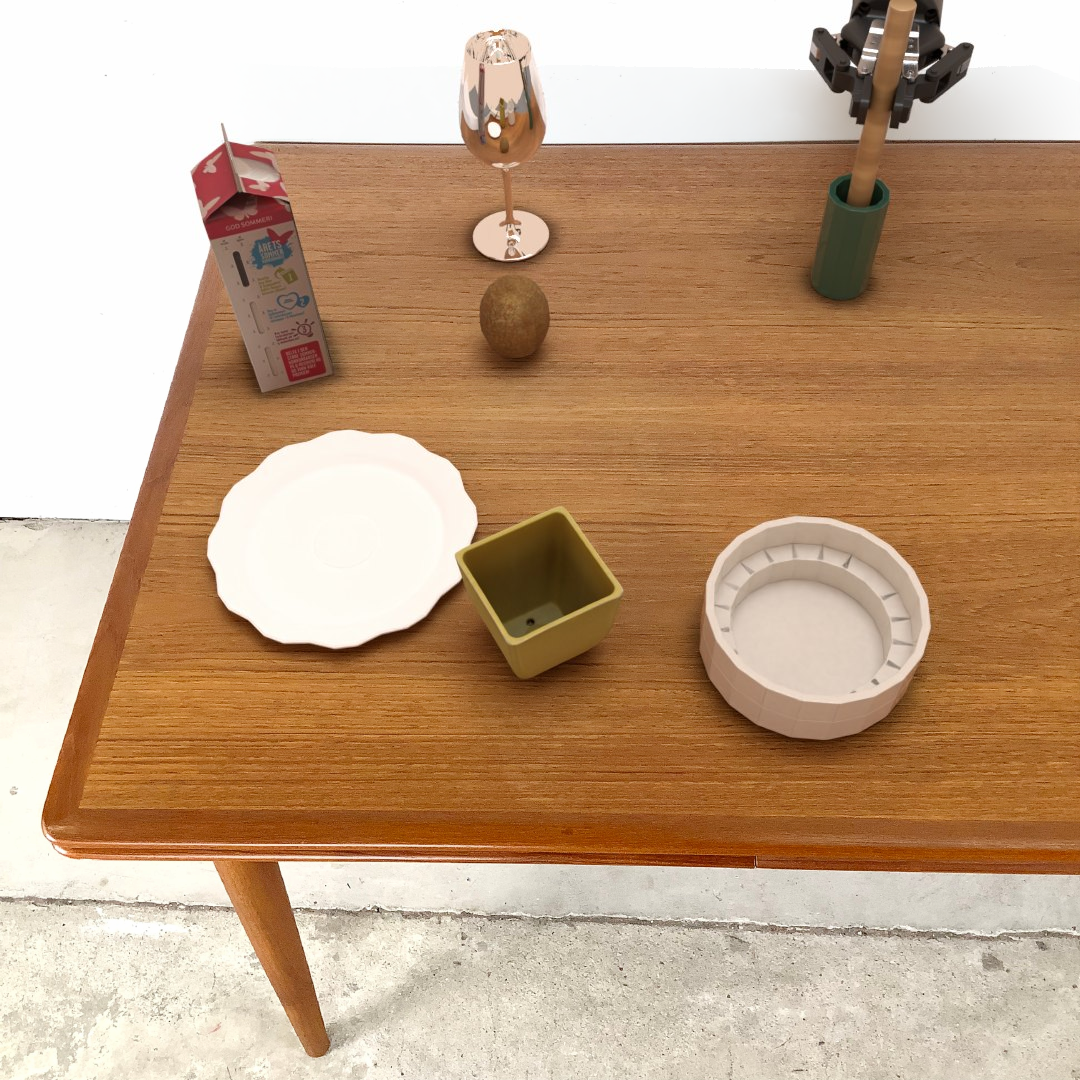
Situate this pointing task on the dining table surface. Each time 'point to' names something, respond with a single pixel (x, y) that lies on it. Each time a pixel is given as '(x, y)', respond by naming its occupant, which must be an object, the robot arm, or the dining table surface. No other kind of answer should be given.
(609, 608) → the flower pot
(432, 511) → the plate
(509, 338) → the fruit
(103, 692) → the dining table surface
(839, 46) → the robot arm
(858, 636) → the bowl
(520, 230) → the wineglass
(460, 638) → the dining table surface
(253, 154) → the juice carton
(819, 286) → the holder
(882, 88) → the stirring stick
